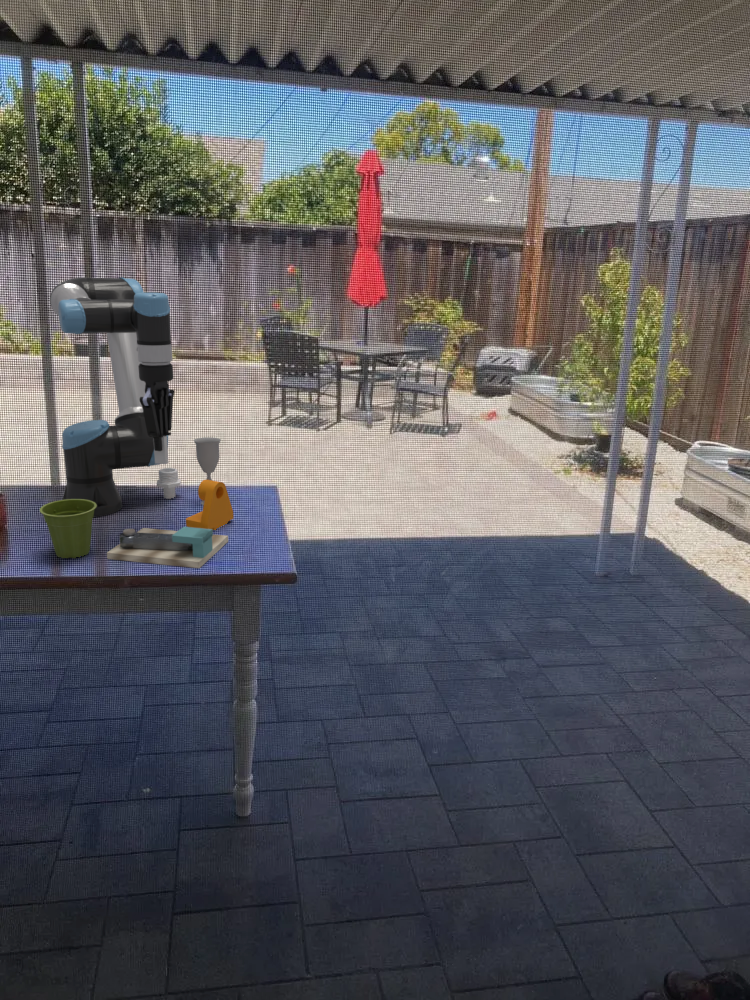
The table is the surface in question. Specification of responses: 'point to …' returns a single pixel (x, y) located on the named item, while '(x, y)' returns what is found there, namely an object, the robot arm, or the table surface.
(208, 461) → the chalice
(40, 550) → the table surface
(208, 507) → the bracket
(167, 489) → the pipe fitting
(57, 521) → the plant pot
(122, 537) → the link
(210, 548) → the block
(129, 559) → the base board
